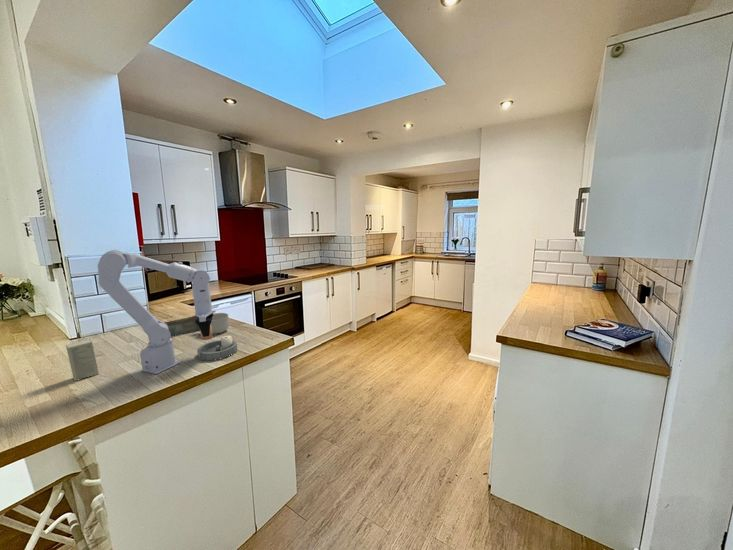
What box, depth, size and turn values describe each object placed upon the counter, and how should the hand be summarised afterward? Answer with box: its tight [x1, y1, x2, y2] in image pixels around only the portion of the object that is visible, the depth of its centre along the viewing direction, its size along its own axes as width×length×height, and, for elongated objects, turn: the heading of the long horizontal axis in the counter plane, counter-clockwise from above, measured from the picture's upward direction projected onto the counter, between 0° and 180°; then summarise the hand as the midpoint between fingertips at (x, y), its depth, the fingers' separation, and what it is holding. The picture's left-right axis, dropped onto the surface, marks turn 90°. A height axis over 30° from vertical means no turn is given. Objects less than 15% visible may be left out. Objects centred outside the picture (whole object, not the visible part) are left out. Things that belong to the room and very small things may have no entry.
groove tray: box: [196, 339, 238, 361], centre depth 117 cm, size 14×14×3 cm
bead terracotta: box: [199, 324, 214, 341], centre depth 114 cm, size 4×4×5 cm
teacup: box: [211, 312, 230, 335], centre depth 141 cm, size 14×11×8 cm
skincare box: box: [65, 338, 100, 381], centre depth 100 cm, size 6×4×12 cm
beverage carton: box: [162, 314, 200, 337], centre depth 142 cm, size 8×19×7 cm, turn 130°
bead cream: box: [220, 335, 233, 350], centre depth 118 cm, size 4×4×5 cm
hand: (206, 334), depth 114 cm, fingers closed on bead terracotta, 4 cm apart
